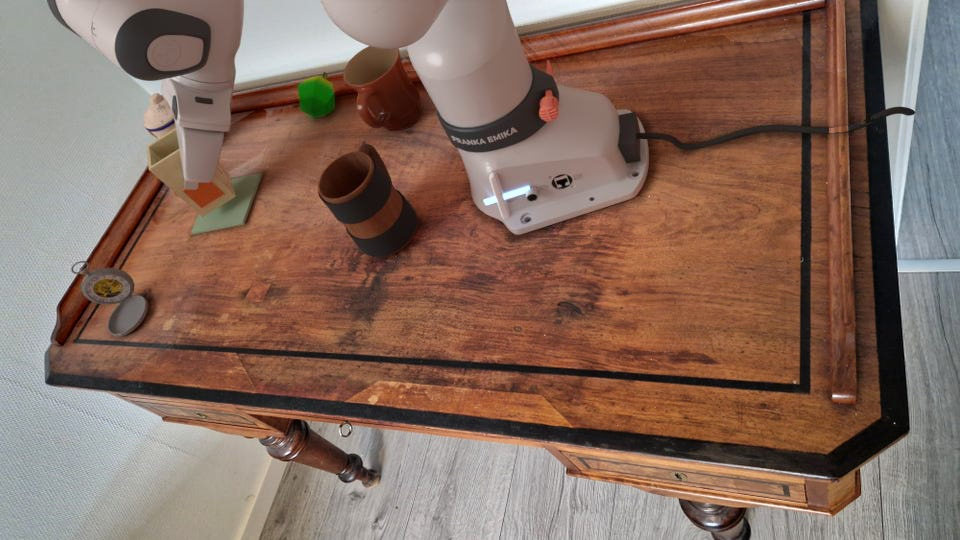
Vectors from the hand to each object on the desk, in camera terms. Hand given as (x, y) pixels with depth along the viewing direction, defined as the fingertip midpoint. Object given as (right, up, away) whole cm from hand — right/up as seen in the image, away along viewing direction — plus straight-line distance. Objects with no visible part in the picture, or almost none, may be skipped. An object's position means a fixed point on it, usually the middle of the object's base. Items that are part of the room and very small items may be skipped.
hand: (188, 172), depth 96 cm
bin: (+2, -3, +4) cm, 6 cm away
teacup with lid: (-7, +7, +20) cm, 22 cm away
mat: (+4, -4, +6) cm, 8 cm away
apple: (+18, +13, +11) cm, 25 cm away
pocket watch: (-8, -21, 0) cm, 22 cm away
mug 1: (+31, +7, +1) cm, 32 cm away
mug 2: (+32, -8, -10) cm, 34 cm away
